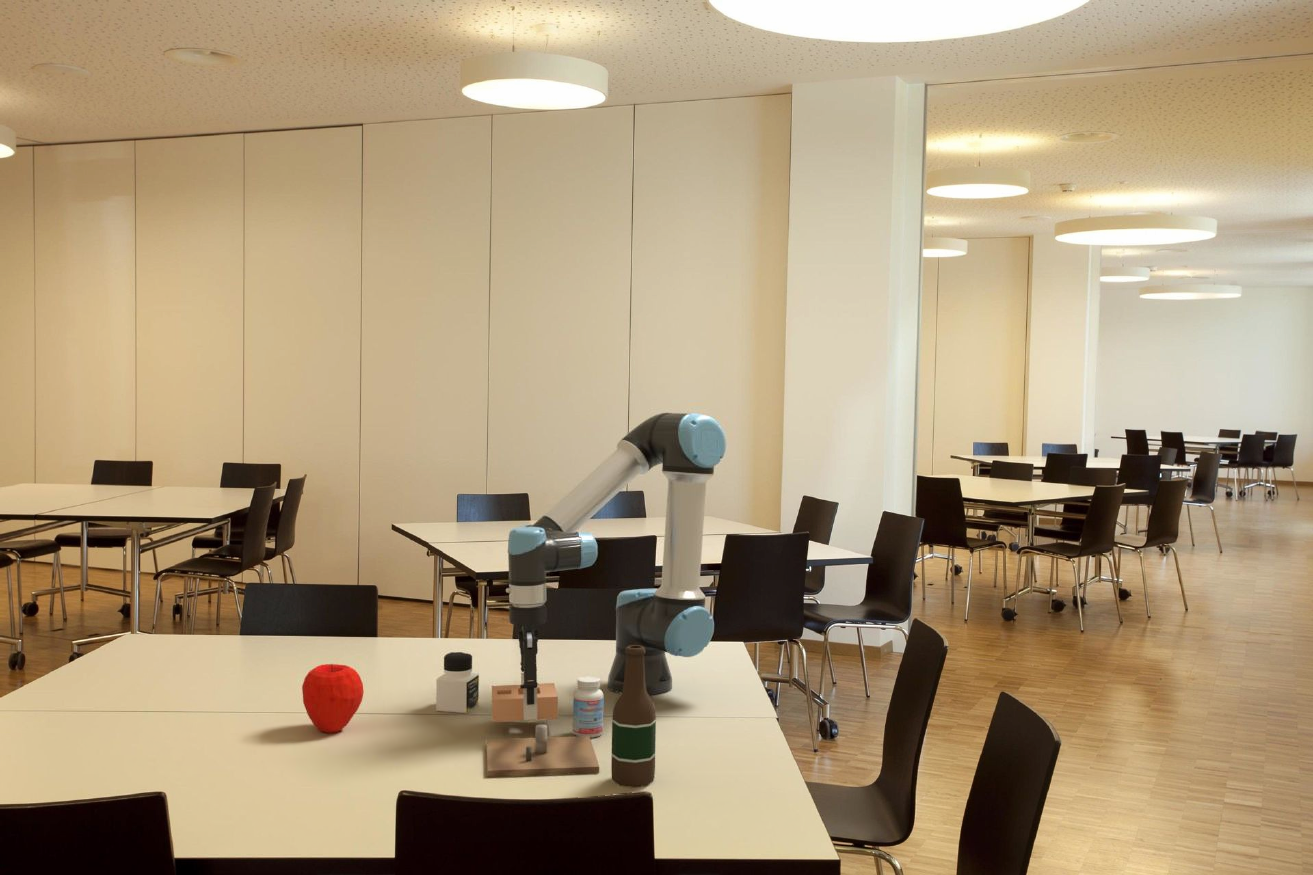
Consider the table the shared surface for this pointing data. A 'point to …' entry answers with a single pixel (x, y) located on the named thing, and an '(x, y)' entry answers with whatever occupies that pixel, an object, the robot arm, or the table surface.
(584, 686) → the pill bottle
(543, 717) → the salmon block with slots
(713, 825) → the table surface
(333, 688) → the apple
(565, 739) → the post board
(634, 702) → the beer bottle
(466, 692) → the medicine bottle
